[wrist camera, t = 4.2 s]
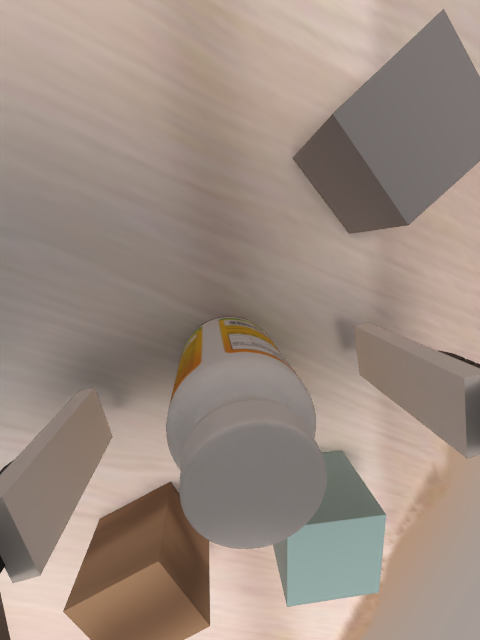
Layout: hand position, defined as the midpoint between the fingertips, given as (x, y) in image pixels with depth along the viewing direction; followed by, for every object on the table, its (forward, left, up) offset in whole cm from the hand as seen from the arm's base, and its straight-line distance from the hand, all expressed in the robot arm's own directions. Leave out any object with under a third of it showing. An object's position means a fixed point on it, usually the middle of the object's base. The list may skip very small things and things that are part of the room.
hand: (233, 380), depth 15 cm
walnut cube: (+10, -7, -3) cm, 12 cm away
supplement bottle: (0, 0, -3) cm, 3 cm away
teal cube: (+10, +3, -3) cm, 11 cm away
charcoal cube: (-9, +9, -3) cm, 13 cm away
